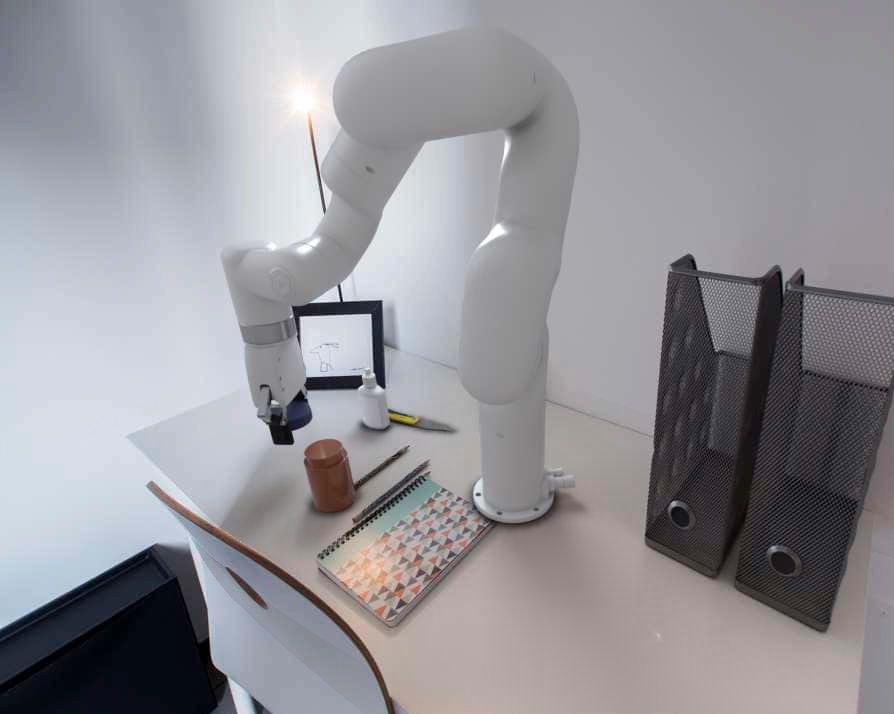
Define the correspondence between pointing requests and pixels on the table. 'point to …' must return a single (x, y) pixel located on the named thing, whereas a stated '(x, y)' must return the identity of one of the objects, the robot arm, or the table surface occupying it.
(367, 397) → the eye dropper bottle
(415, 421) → the utility knife
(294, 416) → the jar lid
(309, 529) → the table surface
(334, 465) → the jar
